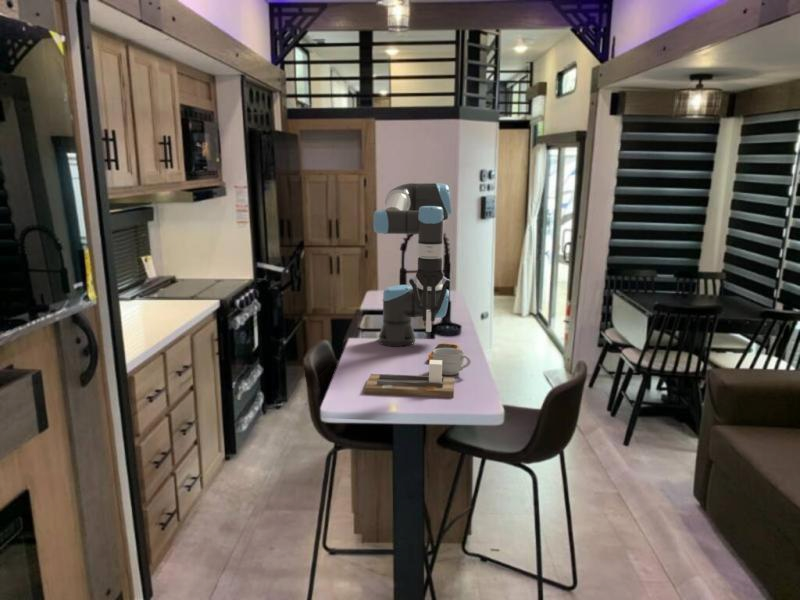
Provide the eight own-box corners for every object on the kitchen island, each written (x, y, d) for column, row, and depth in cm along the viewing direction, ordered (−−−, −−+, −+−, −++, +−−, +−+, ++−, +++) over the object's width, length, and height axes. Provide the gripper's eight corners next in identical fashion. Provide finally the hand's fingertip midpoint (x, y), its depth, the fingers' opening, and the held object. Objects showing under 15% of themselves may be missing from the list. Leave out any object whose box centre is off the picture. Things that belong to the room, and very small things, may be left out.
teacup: (426, 372, 206) (426, 350, 204) (446, 365, 213) (447, 344, 212) (456, 382, 196) (457, 359, 195) (476, 375, 204) (477, 352, 202)
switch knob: (429, 379, 192) (430, 359, 190) (441, 380, 191) (442, 360, 190) (428, 384, 187) (429, 364, 186) (441, 384, 187) (441, 364, 185)
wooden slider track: (370, 379, 198) (370, 370, 198) (454, 383, 196) (454, 373, 195) (364, 393, 186) (364, 383, 185) (453, 397, 183) (453, 387, 182)
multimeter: (459, 351, 231) (460, 343, 230) (450, 366, 214) (450, 356, 213) (438, 349, 233) (438, 341, 233) (427, 363, 216) (428, 354, 216)
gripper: (407, 258, 178) (407, 333, 183) (451, 259, 177) (448, 334, 182) (409, 254, 185) (409, 327, 190) (451, 255, 184) (449, 328, 189)
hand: (428, 330), depth 186 cm, fingers closed
